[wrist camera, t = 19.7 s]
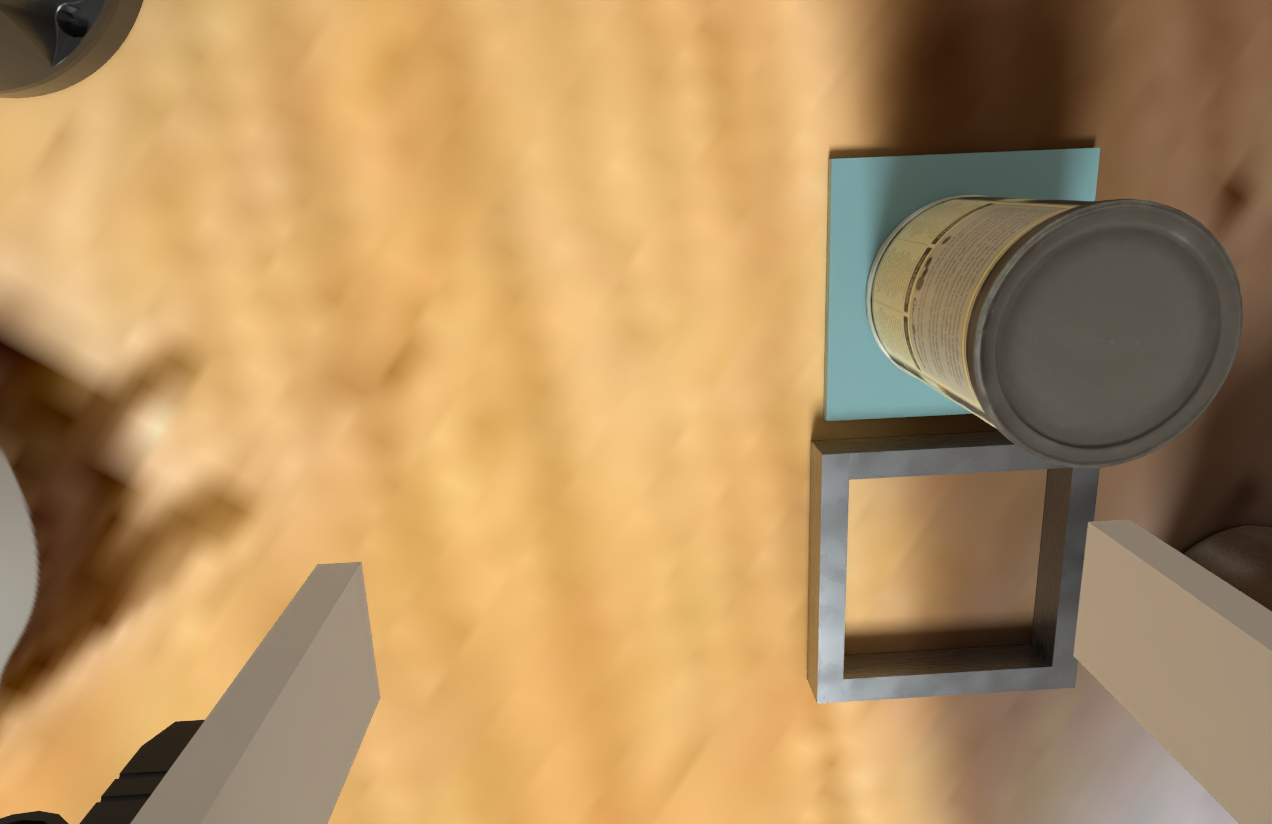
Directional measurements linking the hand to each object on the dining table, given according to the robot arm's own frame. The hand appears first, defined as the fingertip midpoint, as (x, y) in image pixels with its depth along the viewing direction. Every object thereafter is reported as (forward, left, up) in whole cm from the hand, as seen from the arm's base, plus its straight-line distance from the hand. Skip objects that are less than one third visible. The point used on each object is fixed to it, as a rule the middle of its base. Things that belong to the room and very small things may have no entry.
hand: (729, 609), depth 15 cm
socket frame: (+17, -15, -32) cm, 39 cm away
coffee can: (+17, +1, -31) cm, 36 cm away
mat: (+17, +1, -32) cm, 36 cm away
